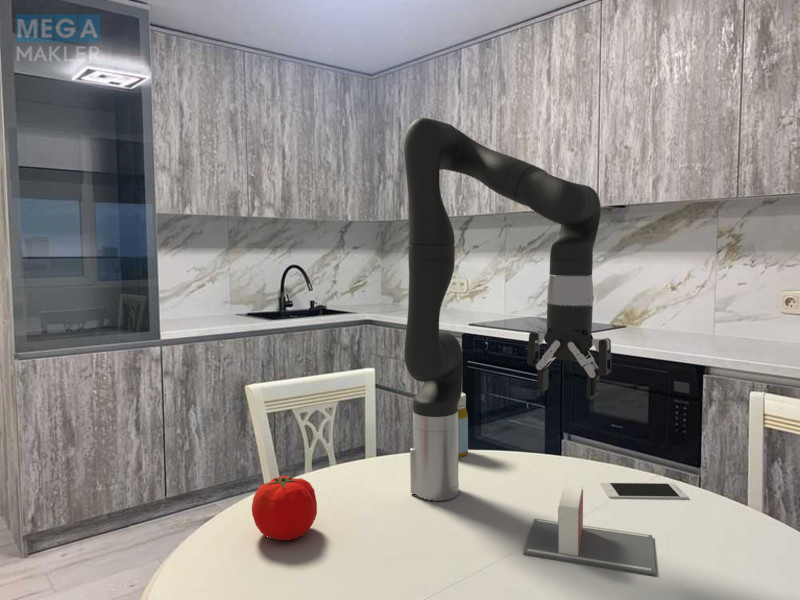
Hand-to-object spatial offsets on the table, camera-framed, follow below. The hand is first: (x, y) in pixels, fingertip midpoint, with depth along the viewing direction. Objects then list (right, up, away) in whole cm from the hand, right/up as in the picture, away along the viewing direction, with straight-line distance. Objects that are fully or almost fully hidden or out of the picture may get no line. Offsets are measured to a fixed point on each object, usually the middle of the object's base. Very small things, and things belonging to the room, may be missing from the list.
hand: (566, 394), depth 103 cm
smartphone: (+21, -24, +19) cm, 37 cm away
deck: (0, -21, -3) cm, 21 cm away
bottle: (-16, -22, +43) cm, 51 cm away
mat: (+3, -25, -3) cm, 25 cm away
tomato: (-49, -26, +3) cm, 56 cm away
